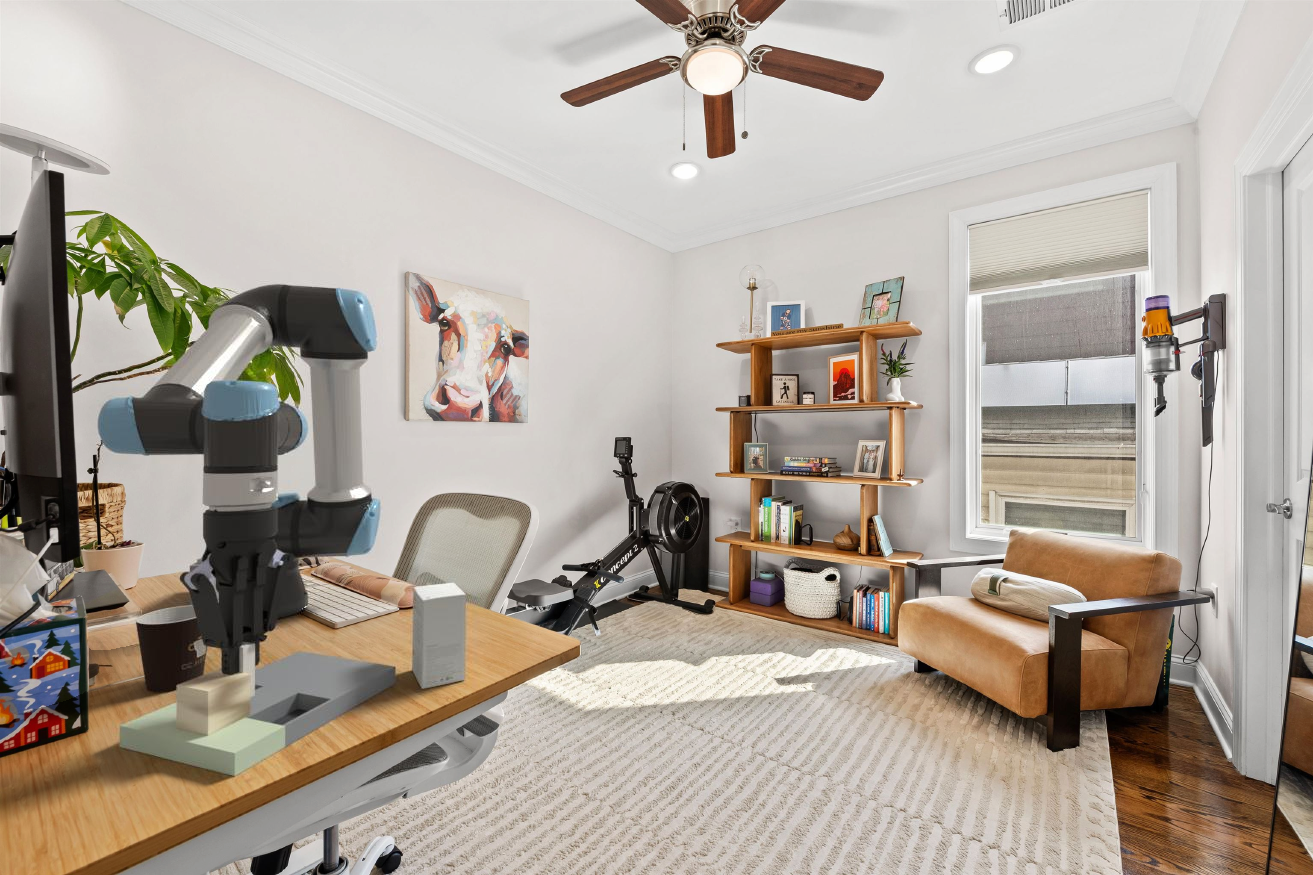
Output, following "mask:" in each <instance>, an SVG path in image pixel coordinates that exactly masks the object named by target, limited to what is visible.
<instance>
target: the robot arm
mask: <svg viewBox="0 0 1313 875" xmlns="http://www.w3.org/2000/svg"><path fill="white" fill-rule="evenodd" d="M376 327H377V326H376V322H375V317H374V313H373V309H372V306H371V304H370V301H369V298H368V297H367V295H365V294H364V293H363V292H361V291H359V290H352V289H347V288H341V287H336V288H335V287H322V286H309V285H305V286H304V285H291V284H290V285H289V284H283V283H274V284H266V285H262V286H257V287H254V288H250V289H248V290H246V291H243V292H241V293H239V294H237V295H235V296H233V297H231V298H229V299H228V300H226V301H225V302H223V303H222V304H221V305H219V306H218V307H217V308H216V309H215V310H214V311H213V312H212V314H211V315H210V317H209V319H208V328H207V329H206V330H205V331H204V332H203V333H202V334H201V335H200V336H199V337H198V339H196V341H195V342H193V344H192V345H191V346H190V347H189V348H188V349H187V350H186V351H185V352H184V353H183V354H182V356H180V357H179V358H178V360H177V361H176V362H175V363H173V365H172V366H171V367H170V368H169V369H168V370H167V371H166V372H165V374H164V375H163V376H161V378H160V379H159V380H158V381H157V382H156V383H155V384H154V385H153V386H152V387H151V388H150V389H149V390H148V391H147V392H146V393H145V394H144V395H143V396H141V397H135V396H133V395H132V396H131V395H130V396H128V397H116V398H111V399H109V400H107V401H106V402H105V403H104V404H103V405H102V407H101V408H100V411H99V412H98V413H99V414H98V418H97V431H98V432H97V433H98V435H99V437H100V439H101V443H102V444H103V446H104V447H105V448H107V449H108V450H109V451H110V452H113V453H115V454H125V455H141V456H142V455H143V456H145V457H147V456H173V455H174V456H176V455H177V456H179V455H180V456H181V455H187V456H189V455H191V456H193V455H203V468H202V469H203V470H202V471H203V472H202V504H203V505H204V506H205V507H208V509H206V510H205V511H204V512H202V537H203V540H204V543H205V545H206V546H205V550H204V553H203V554H202V556H201V557H202V563H201V564H200V565H199V566H198V567H197V568H195V569H194V570H193V571H192V572H190V571H185V572H182V573H181V574H180V576H179V581H180V582H181V583H182V585H184V587H185V588H186V589H187V591H188V592H189V597H190V596H191V600H192V604H193V607H194V611H195V615H196V619H197V622H198V626H199V630H200V633H201V637H202V641H203V644H204V645H205V646H207V648H208V647H210V648H214V649H220V650H221V651H220V652H221V653H220V654H221V655H220V656H221V659H220V660H221V668H220V669H221V671H222V673H223V674H228V675H233V674H236V673H238V672H242V673H248V674H251V683H250V697H252V696H255V670H256V666H259V663H260V657H261V656H260V655H261V653H260V648H261V646H260V644H261V643H263V642H265V641H266V639H267V637H268V635H266V634H267V633H268V632H273V631H274V630H275V628H276V626H277V622H278V619H282V618H286V617H289V616H293V615H296V614H299V613H300V612H302V611H301V610H302V608H304V607H305V606H307V605H308V606H309V593H308V591H307V590H306V586H305V583H304V580H303V577H302V575H301V572H300V567H299V564H300V562H299V560H300V558H301V559H302V558H326V557H327V558H328V557H346V558H348V557H350V556H361V555H363V556H364V555H367V554H369V553H370V551H372V549H373V547H374V545H375V541H376V538H377V535H378V529H379V523H380V516H381V509H382V508H381V500H380V499H378V498H376V497H374V498H373V497H372V488H370V487H369V486H368V485H367V484H365V483H364V473H363V472H364V471H363V468H364V466H363V437H362V436H363V435H362V402H361V400H362V398H361V397H362V396H361V373H360V372H361V367H363V365H364V364H365V363H366V362H367V361H368V360H369V355H368V354H369V353H370V352H374V351H376V348H377V344H378V343H377V329H376ZM273 347H275V348H276V347H286V348H287V347H288V348H299V350H300V354H299V355H300V359H302V361H303V362H305V363H306V364H307V365H308V367H309V369H310V370H309V372H310V373H309V376H310V393H311V394H310V396H311V414H312V415H311V416H312V433H313V434H312V435H313V436H312V437H313V439H312V440H313V455H314V456H313V457H314V458H313V459H314V477H315V478H314V482H315V485H314V486H313V488H312V489H310V490H309V491H308V492H307V494H306V498H307V499H304V500H302V499H301V496H300V494H299V493H298V492H290V493H289V492H288V493H287V492H286V493H278V491H279V490H278V487H279V486H278V479H279V478H278V473H279V472H278V469H279V468H278V467H279V466H278V464H279V463H278V459H279V456H283V455H285V454H288V453H290V452H292V451H294V450H297V448H299V447H300V446H301V445H302V444H303V443H304V442H305V440H306V438H307V435H308V433H309V426H308V422H307V418H306V417H305V415H304V414H303V412H302V411H300V409H298V408H297V407H295V405H294V406H293V405H291V404H290V403H286V402H285V401H283V400H282V401H280V400H279V394H278V388H277V387H276V386H275V385H274V384H273V383H271V382H264V381H251V380H238V379H239V377H240V376H241V375H242V374H243V372H244V371H245V369H246V368H248V365H249V364H250V362H251V361H252V360H253V359H254V357H255V356H258V355H260V354H262V353H264V352H265V351H267V350H268V349H269V348H273ZM300 499H301V500H300ZM211 574H212V575H213V576H214V577H215V578H216V590H217V591H218V593H219V600H218V599H217V595H216V592H215V589H214V586H213V585H212V583H211V582H213V580H214V578H213V577H212V576H211Z"/></svg>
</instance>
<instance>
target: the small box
mask: <svg viewBox="0 0 1313 875" xmlns="http://www.w3.org/2000/svg"><path fill="white" fill-rule="evenodd" d="M412 590H413V593H412V596H413V597H412V653H411V655H412V656H411V670H412V672H413V674H414V676H415V678H416V681H417V682H418V685H419V686H420V688H421V689H422V690H424V689H428V688H429V689H430V688H433V687H438V686H442V685H443V686H444V685H448V684H452V683H456V682H462V681H465V680H466V664H467V663H466V662H467V661H466V651H467V648H466V647H467V646H466V643H467V642H466V640H467V638H466V636H467V635H466V634H467V632H466V631H467V626H466V624H467V594H466V593H465V592H464V591H463V590H462V589H461V587H459V586H458V585H457V584H456V583H455V582H447V583H438V584H437V583H436V584H429V585H420V586H413V589H412Z"/></svg>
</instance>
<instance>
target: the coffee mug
mask: <svg viewBox="0 0 1313 875" xmlns="http://www.w3.org/2000/svg"><path fill="white" fill-rule="evenodd" d="M135 625H136V632H137V638H138V639H137V640H138V644H139V651H140V657H141V662H142V663H141V664H142V671H143V677H144V683H145V689H146V690H145V691H147V692H150V693H157V694H158V693H159V694H160V693H168V692H174V691H177V685H179V684H181V683H184V682H186V681H189V680H192V679H194V678H197V677H199V676H202V675H204V672H205V666H206V659H207V658H206V656H207V651H208V646H205V645H204V644H203V641H202V637H201V633H200V630H199V626H198V622H197V619H196V615H195V611H194V607H193V605H190V604H189V605H179V606H173V607H168V608H161V609H158V610H153V611H150V612H147V613H144V614H141V615H140V616H138V617H136V619H135Z"/></svg>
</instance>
